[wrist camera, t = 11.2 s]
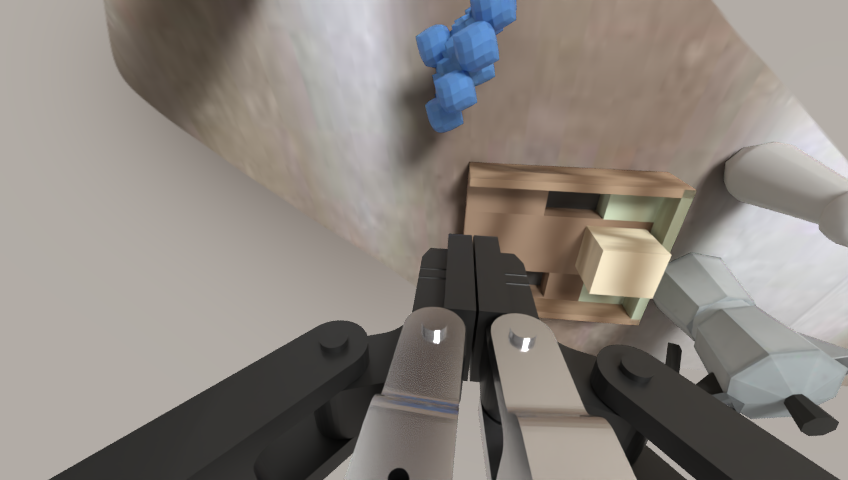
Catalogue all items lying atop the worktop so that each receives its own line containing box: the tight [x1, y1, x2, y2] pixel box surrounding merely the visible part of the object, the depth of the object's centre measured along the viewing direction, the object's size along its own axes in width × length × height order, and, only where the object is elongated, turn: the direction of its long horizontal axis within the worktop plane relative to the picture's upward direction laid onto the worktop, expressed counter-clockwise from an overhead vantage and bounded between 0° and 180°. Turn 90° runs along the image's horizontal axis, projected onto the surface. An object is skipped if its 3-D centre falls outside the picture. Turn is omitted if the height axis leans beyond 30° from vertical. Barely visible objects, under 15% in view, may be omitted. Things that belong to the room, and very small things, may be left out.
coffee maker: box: [653, 253, 848, 436], centre depth 34 cm, size 15×9×18 cm, turn 127°
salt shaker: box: [723, 142, 848, 247], centre depth 29 cm, size 6×6×13 cm
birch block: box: [575, 226, 672, 299], centre depth 35 cm, size 6×5×5 cm
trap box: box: [463, 162, 697, 325], centre depth 38 cm, size 20×16×5 cm
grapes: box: [416, 0, 517, 133], centre depth 27 cm, size 12×7×12 cm, turn 157°
